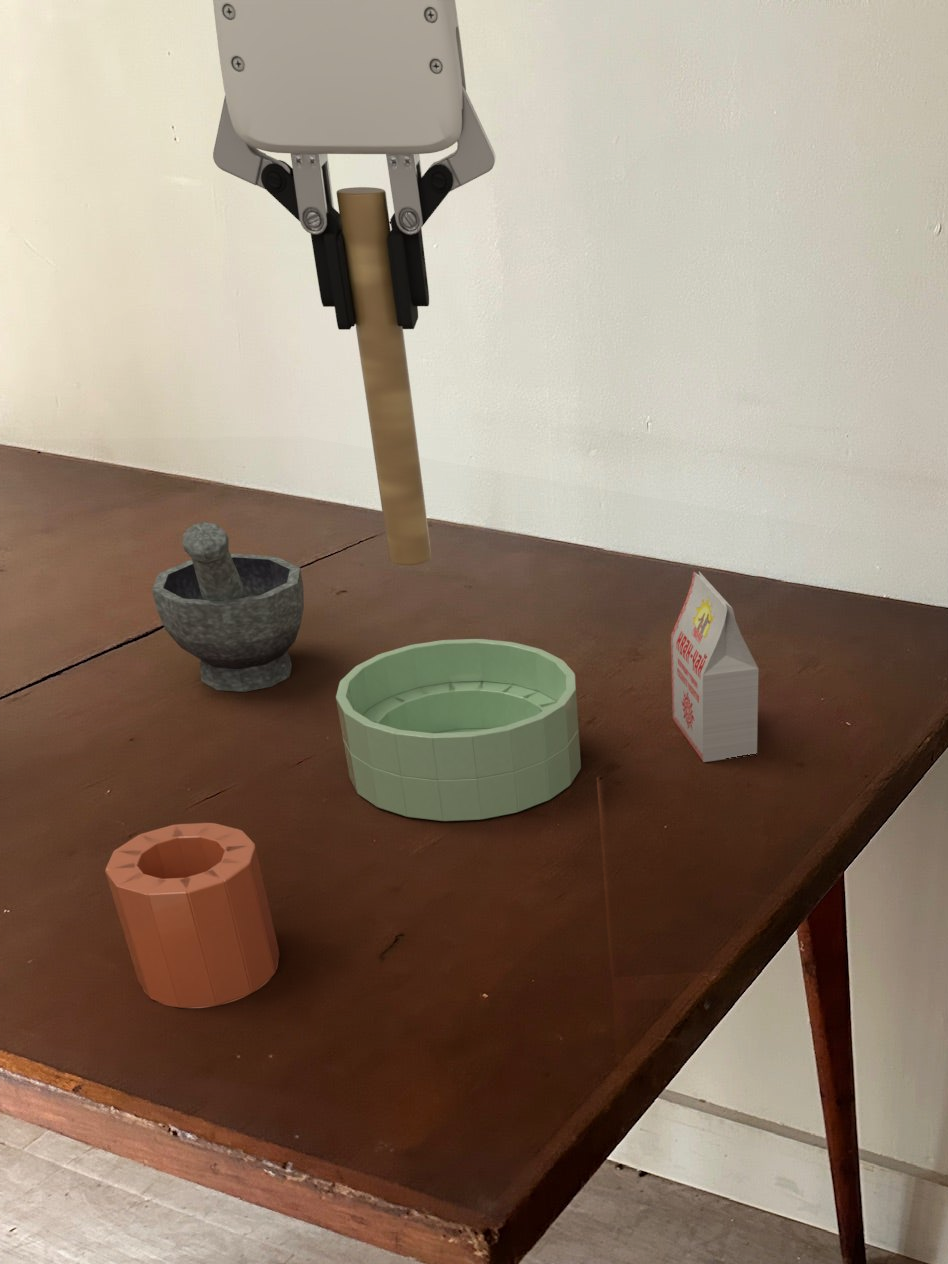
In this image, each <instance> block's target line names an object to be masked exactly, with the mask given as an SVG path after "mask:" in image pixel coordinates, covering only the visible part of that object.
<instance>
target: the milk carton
mask: <svg viewBox="0 0 948 1264" xmlns="http://www.w3.org/2000/svg"><path fill="white" fill-rule="evenodd" d="M673 626H674V627H673V629H672V631H671V634H670V664H671V665H670V668H671V705H672V706H671V708H672V709H671V710H672V712H671V713H672V715H671V717H672V720H673V722H674V723H675V724H676V727H678V729H679V730H680V732H681V733H682V734H683V735H684V737H685V739H686V740H687V741H688V743H689V745H690V746H691V747H692V749H693V750H694V752H695V753H696V754H697V756H698V757H699V759H700V760H701V761H702V763H708V762H715V761H722V760H727V759H726V758H729V759H732V758H731V757H736V758H738V757H737V756H742V755H747V754H748V755H750V754H756V753H757V754H758V726H759V725H758V720H759V718H758V717H759V714H758V713H759V667H758V664H757V663H756V660H755V658H754V657H753V655H752V652H751V651H750V649H749V647H748V645H747V643H746V641H745V639H744V637H743V635H742V633H741V631H740V627H739V625H738V623H737V620H736V616H735V612H734V608H733V607H732V606H731V605H730V604H729V603H728V601H727V600H726V599H725V598H724V597H723V596H722V595H721V594H720V592H719V591H718V590H717V589H716V588H715V587H714V585H712V584H711V582H709V580H708V579H707V578H706V577H705V576H704V575H703V574H702V573H701V571H698V573H697V572H695V571H694V570H693V571H692V576H691V582H690V586H689V589H688V592H687V595H686V598H685V601H684V603H683V605H682V607H681V610H680V613H679V615H678V617H677V620H676V621H675V625H673ZM757 754H756V755H757ZM750 756H751V755H750Z"/></svg>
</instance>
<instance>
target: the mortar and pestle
mask: <svg viewBox="0 0 948 1264" xmlns="http://www.w3.org/2000/svg"><path fill="white" fill-rule="evenodd" d="M229 542H230V541H229V536H228V533H226V531H225V530H224V529H223V528H222V527H221V526H220V525H219V524H216V523H212V522H207V521H202V522H198V523H195V524H191V525H190V527H189V528H188V529H187V530H185V532H184V533H183V534H182V547H183V550H184V552H185V553H186V554H187V556H189V557H190V558H191V559H190V560H187V561H184V562H182V563H180V564H178V565H176V566H173V567H171V568H168V569H165V570H163V571H161V572H158V574H157V576H156V578H155V581H154V584H153V586H152V588H151V592H152V596H153V600H154V604H155V608H156V611H157V613H158V615H159V618H160V620H161V623H162V625H163V628H164V630H165V631H166V632H167V633H168V635H169V636H170V637H171V638H172V640H174V641H175V643H176V644H177V645H178V646H179V647H180V648H181V649H182V650H184V651H185V652H187V653H189V654H190V655H192V656H193V657H195V658H197V660H200V661H199V664H200V665H199V673H200V680H201V682H202V683H203V684H205V685H207V686H209V687H211V688H212V689H214V690H216V691H224V692H225V691H226V692H239V693H246V692H249V691H256V690H262V689H267V688H272V687H273V686H276V685H277V684H279V683H281V682H283V681H285V680H287V679H289V678H290V677H291V672H292V667H293V665H292V661H291V657H290V654H289V652H288V650H289V649H290V648H291V647H292V646H293V645H294V643H295V642H296V641H297V636H298V634H299V631H300V628H301V625H302V621H303V616H304V615H303V614H304V608H305V602H304V601H305V599H304V598H305V597H304V596H305V595H304V594H305V593H304V581H303V577H302V571H301V567H300V566H297V565H296V564H294V563H291V562H289V561H287V560H285V559H282V558H280V557H278V556H274V555H260V554H259V555H258V554H247V553H246V554H244V553H231V552H230V551H229V550H230V548H229V547H230V543H229Z"/></svg>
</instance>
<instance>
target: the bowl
mask: <svg viewBox="0 0 948 1264" xmlns="http://www.w3.org/2000/svg"><path fill="white" fill-rule="evenodd" d="M576 679H577V678H576V674H575V672H574V671H573V669H571V667H569V665H568V664H567V663H566V661H564V660H563V659H562V658H559V657H557V656H556V655H554V654H552V653H550V652H548V651H546V650H544V649H541V648H538V647H534V646H530V645H527V644H523V643H518V642H514V641H505V640H495V639H487V638H485V639H484V638H465V639H464V638H463V639H461V638H460V639H441V640H434V641H427V642H422V643H421V642H420V643H413V644H408V645H405V646H402V647H398V648H395V649H392V650H388V651H385V652H382V653H379V654H376V655H374V656H373V657H371V658H369V659H367V660H365V661H363V662H361V663H359V664H357V665H355V666H354V667H353V668H352V669H350V671H349V672H348V673H347V674H345V676H344V677H343V678H341V679H340V681H339V683H338V687H337V691H336V694H335V701H336V707H337V714H338V718H339V724H340V730H341V735H342V742H343V747H344V753H345V760H346V765H347V770H348V776H349V777H348V778H349V779H350V781H351V783H352V786H353V787H354V789H355V791H356V793H357V794H358V796H360V797H362V798H363V799H365V800H366V801H367V802H369V803H370V804H372V805H373V806H374V807H376V808H378V809H380V810H384V811H387V812H391V813H393V814H397V815H400V816H404V817H406V818H412V819H413V818H414V819H421V820H422V819H423V820H429V821H438V822H439V821H440V822H455V821H457V822H458V821H480V820H486V819H492V818H497V817H502V816H506V815H512V814H516V813H519V812H523V811H525V810H527V809H530V808H532V807H536V806H538V805H540V804H543V803H546V802H548V801H550V800H551V799H553V798H555V797H556V796H557V795H559V794H560V793H561V792H563V791H565V790H566V789H567V788H569V787H570V786H571V785H572V784H573V782H574V780H575V778H576V777H577V776H578V774H579V772H580V771H581V769H582V761H581V760H582V759H581V746H580V745H581V744H580V729H579V714H578V698H577V680H576Z"/></svg>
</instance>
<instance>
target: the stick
mask: <svg viewBox="0 0 948 1264" xmlns="http://www.w3.org/2000/svg"><path fill="white" fill-rule="evenodd" d="M386 192H387V191H386V190H385V189H383V188H379V187H367V186H357V187H345V188H340V189H338V190H336V199H337V207H338V213H339V214H340V221H341V228H342V234H343V238H344V244H345V251H346V258H347V265H348V272H349V279H350V286H351V293H352V300H353V307H354V314H355V321H356V324H355V332H356V338H357V345H358V352H359V358H360V359H359V360H360V366H361V372H362V379H363V386H364V393H365V400H366V407H367V415H368V420H369V428H370V429H369V430H370V435H371V442H372V443H371V444H372V449H373V456H374V463H375V470H376V478H377V484H378V489H379V499H380V504H381V505H380V506H381V512H382V520H383V527H384V534H385V539H386V547H387V554H388V559H389V561H390V562H391V563H393V564H396V565H400V566H415V565H420V564H425V563H426V562H429V561H430V560H431V559H432V548H431V541H430V532H429V526H428V525H429V524H428V517H427V508H426V501H425V494H424V492H425V491H424V484H423V477H422V470H421V461H420V452H419V446H418V445H419V444H418V438H417V437H418V436H417V430H416V421H415V413H414V406H413V405H414V404H413V398H412V389H411V383H410V382H411V381H410V374H409V368H408V367H409V365H408V358H407V357H408V356H407V349H406V344H405V335H404V329H403V328H402V326H398V323H397V315H396V308H395V300H394V292H393V284H392V277H391V269H390V261H389V253H388V245H387V237H388V235H389V234H390V233H391V230H392V229H391V221H390V216H389V207H388V200H387V199H388V198H387V193H386Z"/></svg>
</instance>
